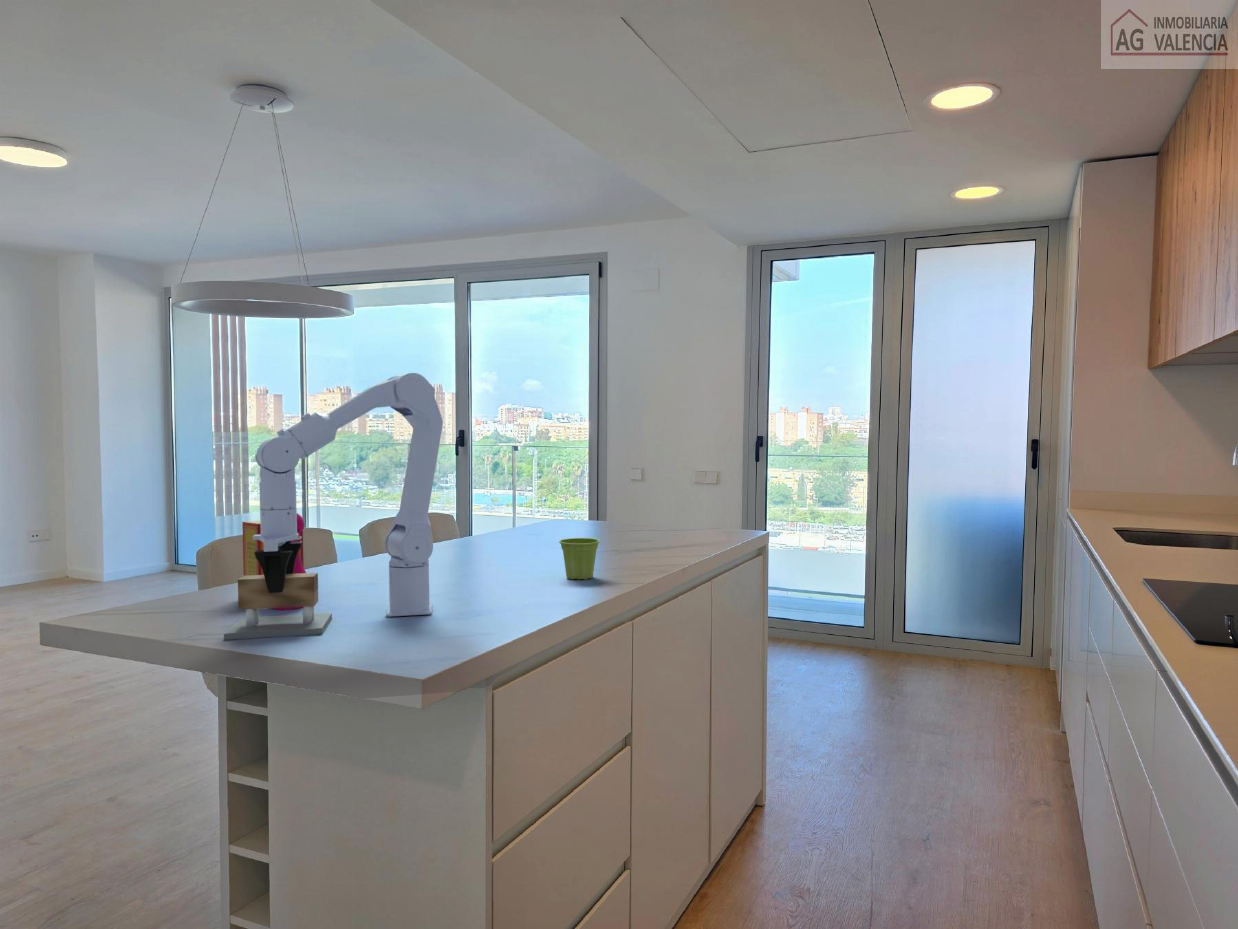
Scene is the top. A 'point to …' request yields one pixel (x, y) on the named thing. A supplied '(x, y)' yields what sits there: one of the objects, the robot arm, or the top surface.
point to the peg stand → (278, 625)
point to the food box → (255, 548)
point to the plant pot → (579, 557)
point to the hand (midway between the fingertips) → (280, 588)
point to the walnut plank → (294, 594)
